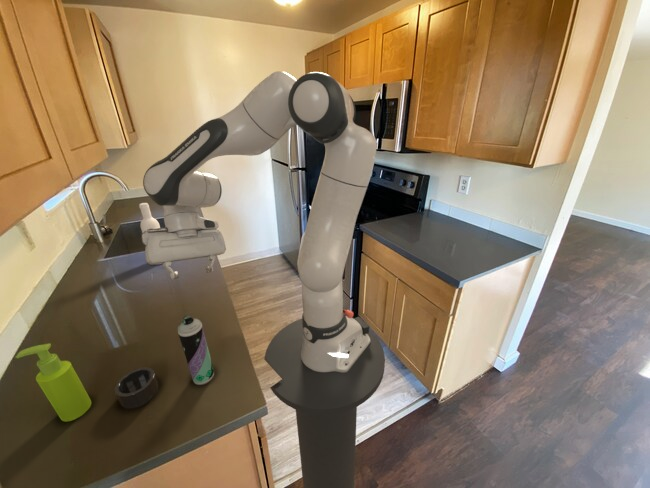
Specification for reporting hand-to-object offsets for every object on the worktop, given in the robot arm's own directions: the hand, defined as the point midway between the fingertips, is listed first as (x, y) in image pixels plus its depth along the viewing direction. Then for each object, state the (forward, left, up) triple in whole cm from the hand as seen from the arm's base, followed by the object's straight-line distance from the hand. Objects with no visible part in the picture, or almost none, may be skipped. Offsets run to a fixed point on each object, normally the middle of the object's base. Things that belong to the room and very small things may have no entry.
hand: (193, 275), depth 76 cm
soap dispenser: (+33, -2, -25) cm, 42 cm away
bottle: (-4, -76, -25) cm, 80 cm away
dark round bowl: (+20, +4, -25) cm, 32 cm away
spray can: (+6, +10, -25) cm, 28 cm away
